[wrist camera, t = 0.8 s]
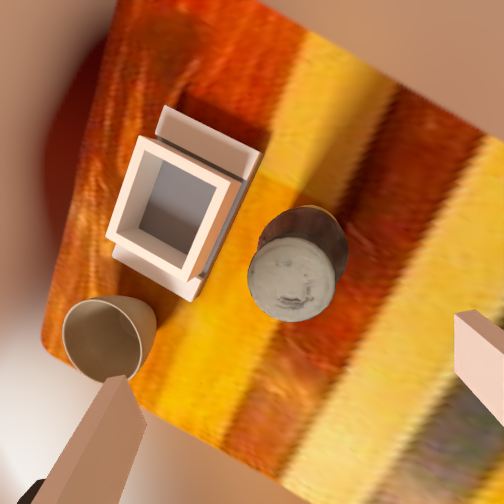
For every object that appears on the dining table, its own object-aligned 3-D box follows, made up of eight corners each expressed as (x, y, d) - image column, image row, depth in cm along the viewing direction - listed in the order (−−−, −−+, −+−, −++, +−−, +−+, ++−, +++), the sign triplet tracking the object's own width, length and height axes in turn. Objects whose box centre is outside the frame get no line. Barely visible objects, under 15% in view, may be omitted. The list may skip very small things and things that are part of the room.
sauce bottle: (319, 272, 33) (309, 382, 14) (269, 243, 34) (196, 312, 15) (353, 219, 31) (392, 267, 13) (299, 190, 32) (260, 192, 13)
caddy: (264, 154, 32) (252, 147, 27) (199, 295, 37) (177, 313, 32) (175, 110, 34) (147, 95, 28) (123, 252, 39) (91, 262, 33)
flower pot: (189, 325, 38) (159, 354, 32) (140, 366, 42) (104, 401, 35) (137, 264, 39) (96, 281, 32) (92, 310, 42) (46, 334, 35)
